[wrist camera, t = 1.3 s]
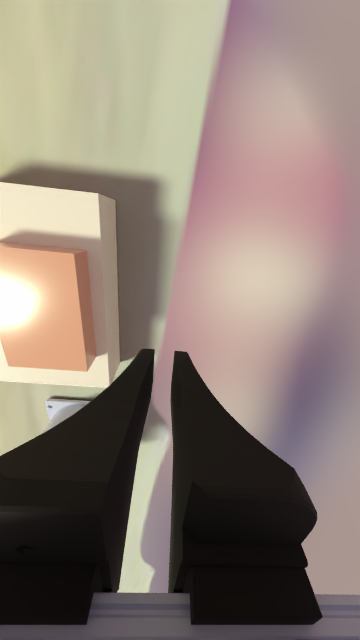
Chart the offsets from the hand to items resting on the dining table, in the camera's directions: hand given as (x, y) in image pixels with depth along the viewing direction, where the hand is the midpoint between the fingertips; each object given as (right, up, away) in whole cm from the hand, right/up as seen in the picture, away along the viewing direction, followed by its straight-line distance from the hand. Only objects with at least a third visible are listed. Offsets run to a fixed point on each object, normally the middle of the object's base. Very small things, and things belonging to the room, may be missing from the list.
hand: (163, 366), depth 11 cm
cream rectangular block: (-10, +5, +9) cm, 14 cm away
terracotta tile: (-9, +3, +5) cm, 11 cm away
